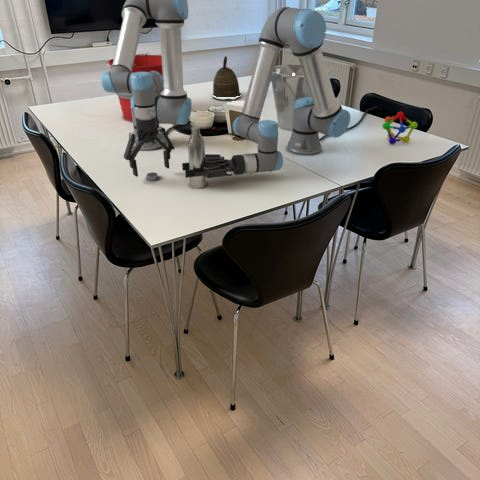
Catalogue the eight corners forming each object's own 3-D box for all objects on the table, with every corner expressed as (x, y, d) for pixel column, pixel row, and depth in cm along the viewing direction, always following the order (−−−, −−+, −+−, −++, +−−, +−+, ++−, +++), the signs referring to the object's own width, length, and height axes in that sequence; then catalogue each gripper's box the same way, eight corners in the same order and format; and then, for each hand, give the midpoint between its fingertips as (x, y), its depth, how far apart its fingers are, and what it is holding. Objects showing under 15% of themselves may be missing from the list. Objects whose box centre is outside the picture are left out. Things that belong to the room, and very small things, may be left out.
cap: (160, 177, 175) (159, 173, 174) (153, 181, 172) (152, 177, 171) (151, 175, 177) (151, 171, 176) (144, 179, 174) (144, 175, 173)
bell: (227, 105, 294) (202, 96, 282) (238, 66, 289) (213, 55, 277) (243, 108, 280) (217, 98, 268) (255, 66, 275) (229, 55, 263)
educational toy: (377, 146, 209) (379, 114, 202) (384, 138, 219) (386, 107, 211) (411, 149, 202) (415, 116, 195) (417, 141, 212) (420, 109, 204)
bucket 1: (122, 106, 262) (115, 52, 246) (181, 107, 261) (178, 52, 245) (105, 124, 232) (96, 64, 216) (172, 125, 231) (167, 64, 216)
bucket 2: (296, 138, 215) (301, 78, 201) (255, 124, 234) (256, 68, 219) (335, 125, 232) (342, 70, 217) (294, 113, 251) (297, 61, 236)
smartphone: (201, 167, 182) (204, 154, 195) (201, 169, 182) (204, 155, 195) (218, 167, 182) (220, 154, 195) (218, 169, 182) (220, 155, 195)
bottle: (205, 188, 167) (202, 130, 155) (189, 187, 167) (185, 130, 156) (207, 181, 172) (204, 125, 161) (191, 181, 173) (188, 124, 161)
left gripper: (117, 126, 153) (125, 182, 164) (180, 114, 166) (184, 167, 177) (109, 120, 158) (117, 175, 169) (170, 109, 171) (174, 161, 182)
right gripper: (250, 183, 165) (188, 190, 159) (236, 164, 180) (180, 169, 175) (250, 164, 161) (187, 170, 155) (236, 146, 176) (179, 151, 171)
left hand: (151, 171), depth 173 cm, fingers open, 13 cm apart
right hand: (184, 170), depth 165 cm, fingers closed on bottle, 6 cm apart
